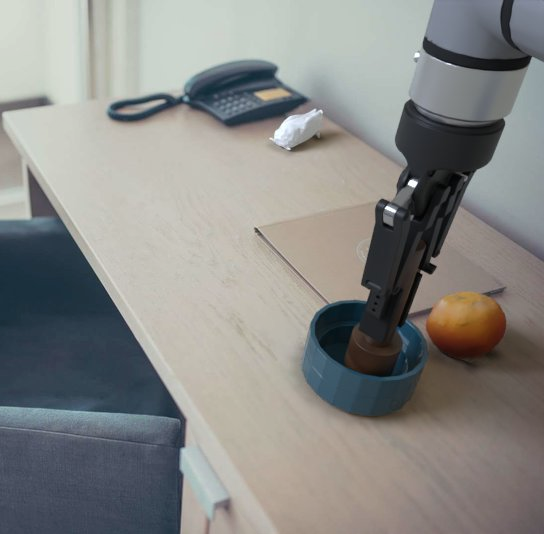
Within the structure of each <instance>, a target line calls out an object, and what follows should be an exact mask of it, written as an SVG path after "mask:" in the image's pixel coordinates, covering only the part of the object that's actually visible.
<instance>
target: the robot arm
mask: <svg viewBox="0 0 544 534" xmlns="http://www.w3.org/2000/svg"><path fill="white" fill-rule="evenodd" d="M532 58H534V59H537V60H538V61H540V62H543V63H544V0H433V3H432V7H431V9H430V13H429V17H428V21H427V25H426V29H425V31H424V36H423V39H422V44H421V47H420V50H417V51H416V52H415V54H413V62H414V63H416V65H415V69H414V72H413V75H412V79H411V82H410V86H409V89H408V96H409V98H410V99H408V100H407V101H405V102H404V105H403V108H402V110H401V115H400V118H399V122H398V126H397V129H396V132H395V137H394V144H395V147H396V149H397V150H398V151H399V152H400V153H401V155H402V156H403V157H404V159H405V161H406V164H407V165H406V166H405V168H404V169H403V170H402V171H401V173H400V175H399V177H398V180H397V182H396V193H395V196H394V197H393V198H392V199H391V201H389V200H388V199H385V198H380V199H379V200H378V201H377V203H376V205H375V208H374V225H373V230H372V235H371V238H370V243H369V247H368V252H367V256H366V260H365V265H364V269H363V273H362V277H361V281H360V286H362V287H363V288H364V289H365V288H366V289H367V290H369V293H368V296H367V299H366V301H367V302H366V306H365V309H364V312H363V315H362V319H361V322H360V325H359V328H358V330H359V331H361V332H362V333H364V334H366V335H367V336H369V337H371V338H372V339H374V340H376V341H377V342H379V343H381V344H383V343H384V342H385V341H386V339H387V337H388V334H389V331H390V328H391V325H392V322H393V320H394V317H395V314H396V311H397V308H398V305H399V302H400V300H401V297H402V294H403V291H404V290H403V289H401V288H400V287H401V284H402V282H403V279H404V277H405V275H406V272H407V270H408V267H409V265H410V262H411V260H412V257H413V255H414V253H415V250H416V248H417V245H418V243H419V240H420V238H421V239H422V240H423V241H424V242H425V244H426V248H425V250H424V253H423V256H422V259H421V261H420V264H419V267H418V270H417V273H416V275H415V278H414V281H413V284H412V287H411V289H410V292H409V295H408V298H407V300H406V303H405V306H404V309H403V312H402V314H401V317H400V320H399V323H398V327H400V328H401V327H402V326H403V325H404V324H405V322H406V319H407V318H408V316H409V313H410V311H411V308H412V306H413V303H414V301H415V297H416V294H417V292H418V289H419V286H420V284H421V281H422V279H423V275H424V274H423V273H421V272H424V273H425V274H427V275H430V276H431V275H433V274H434V273H435V271H436V270H437V268H438V266H437V265H435V264H434V263H431V260H432V258H433V259H436V258H437V257H438V256H439V255H441V254H440V253H441V250H442V248H443V246H444V243H445V241H446V239H447V236H448V234H449V231H450V228H451V226H452V225H453V222H454V219H455V216H456V215H457V212H458V210H459V207H460V204H461V202H462V200H463V198H464V195H465V192H466V191H467V188H468V186H469V184H470V183H471V180H472V179H473V177H474V175H475V173H476V172H477V171H478V170H480V169H482V168H484V167H486V166H487V165H488V164H490V162H491V161H492V159H493V157H494V155H495V153H496V152H495V151H496V149H497V147H498V145H499V142H500V140H501V137H502V134H503V132H504V129H505V127H506V120H505V118H507V117H508V116H509V115H510V114H511V113H512V111H513V108H514V105H515V103H516V101H517V98H518V96H519V93H520V90H521V88H522V85H523V83H524V80H525V78H526V74H527V73H528V69H529V67H530V65H531V61H532Z"/></svg>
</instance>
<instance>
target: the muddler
mask: <svg viewBox="0 0 544 534" xmlns="http://www.w3.org/2000/svg"><path fill="white" fill-rule="evenodd" d="M425 248H426V244H425V242H424V241H423V240H422V239H421V238H420V240H419V243H418V245H417V248H416V250H415V253H414V255H413V257H412V260H411V262H410V265H409V267H408V270H407V272H406V275H405V277H404V279H403V282H402V284H401V287H400V288H401V289H403V290H404V291H403V294H402V297H401V300H400V302H399V305H398V308H397V311H396V314H395V317H394V320H393V322H392V325H391V328H390V331H389V334H388V337H387V339H386V341H385V342H384V343H383V344H381V343H379V342H377V341H376V340H374V339H372V338H371V337H369V336H367V335H366V334H364V333H362V332H361V331H359V330H358V328H359V325H360V323H359V324H358V325H356V326H355V327H354V329H353V331H352V334H351V337H350V341H349V344H348V347H347V351H346V354H345V357H344V363H345V366H346V368H348V369H351V370H353V371H356V372H358V373H361V374H364V375H371V376H377V377H391V375H392V373H393V370H394V368H395V365H396V362H397V360H398V357H399V355H400V352H401V349H402V346H403V341H402V338H401V336H400V335H399V334H398V332H397V331H396V328H397V326H398V323H399V320H400V317H401V314H402V312H403V309H404V306H405V303H406V300H407V298H408V295H409V292H410V289H411V287H412V284H413V281H414V278H415V275H416V273H417V270H418V267H419V264H420V261H421V259H422V256H423V253H424V250H425Z"/></svg>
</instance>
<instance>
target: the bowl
mask: <svg viewBox="0 0 544 534" xmlns="http://www.w3.org/2000/svg"><path fill="white" fill-rule="evenodd" d="M366 302H367V300H360V299H347V300H338V301H335V302H332V303H327V304H325V305H324V306H322V307H321V308H320V309H319V310H318V311H316V312H315V314H314V315H313V317H312V319H311V320H310V323H309V327H308V331H307V334H306V338H305V343H304V348H303V350H302V351H303V352H302V356H301V371H302V375H303V376H304V379H305V382H306V383H307V385H308V386H309V387H310V388H311V390H313V392H314V393H315V394H316V395H317V396H318V397H319V398H321V399H322V400H324V401H325V402H326V403H328V404H330V405H331V406H333V407H335V408H337V409H340V410H341V411H345V412H348V413H349V414H355V415H361V416H366V417H369V416H370V417H374V416H386V415H390V414H392V413H395V412H397V411H401V409H403V408H404V407H405V406H406V405H407V404H408V403H409V402H410V401H412V398H413V395H414V393H415V390H416V388H417V386H418V383H419V381H420V379H421V377H422V373H423V371H424V369H425V367H426V364H427V361H428V358H429V354H430V352H429V347H428V341H427V339H426V337H425V336H424V334H423V333H422V331H421V329H420V328H419V327H418V326H417V325H416V324H415V323H414V322H412V321H411V320H410V319H409V318H408V317H407V319H406V322H405V324H404V325H403V326H402V327H401V328H400V327H398V326H397V328H396V331H397V332H398V334H399V335H400V336H401V338H402V341H403V346H402V349H401V352H400V355H399V357H398V360H397V362H396V365H395V368H394V370H393V373H392V375H391V377H377V376H371V375H364V374H361V373H358V372H356V371H353V370H351V369H348V368H346V366H345V363H344V357H345V354H346V351H347V347H348V344H349V341H350V337H351V334H352V331H353V329H354V327H355V326H356V325H358V324H359V323H360V322H361V319H362V315H363V312H364V309H365V306H366Z"/></svg>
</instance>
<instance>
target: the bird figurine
mask: <svg viewBox="0 0 544 534" xmlns="http://www.w3.org/2000/svg"><path fill="white" fill-rule="evenodd" d="M323 114H324V111H323V109H319V110H318V108H313V109H312V110H311V111H309V112H307V113H304V114H294V115H290V116H288V117H287V118H285V120H283V122H282V123H281V125H280V126H279V128H277V129H275V131H274V135H273V137H269V141H272V142H273V143H274V144H276V145H277V146H279V147H282V148H284V149H285V150H287V151H291V150H292V149H293V148H295V147H296V146H298V145H301V144H303V143H304V142H306V141H308V140H311V138H313V137H314V136H315V137H316V136H317V138H318V139H320V138H321V133H320V131H319V130H320V128H321V127H322V124H323V119H324V115H323Z"/></svg>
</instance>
